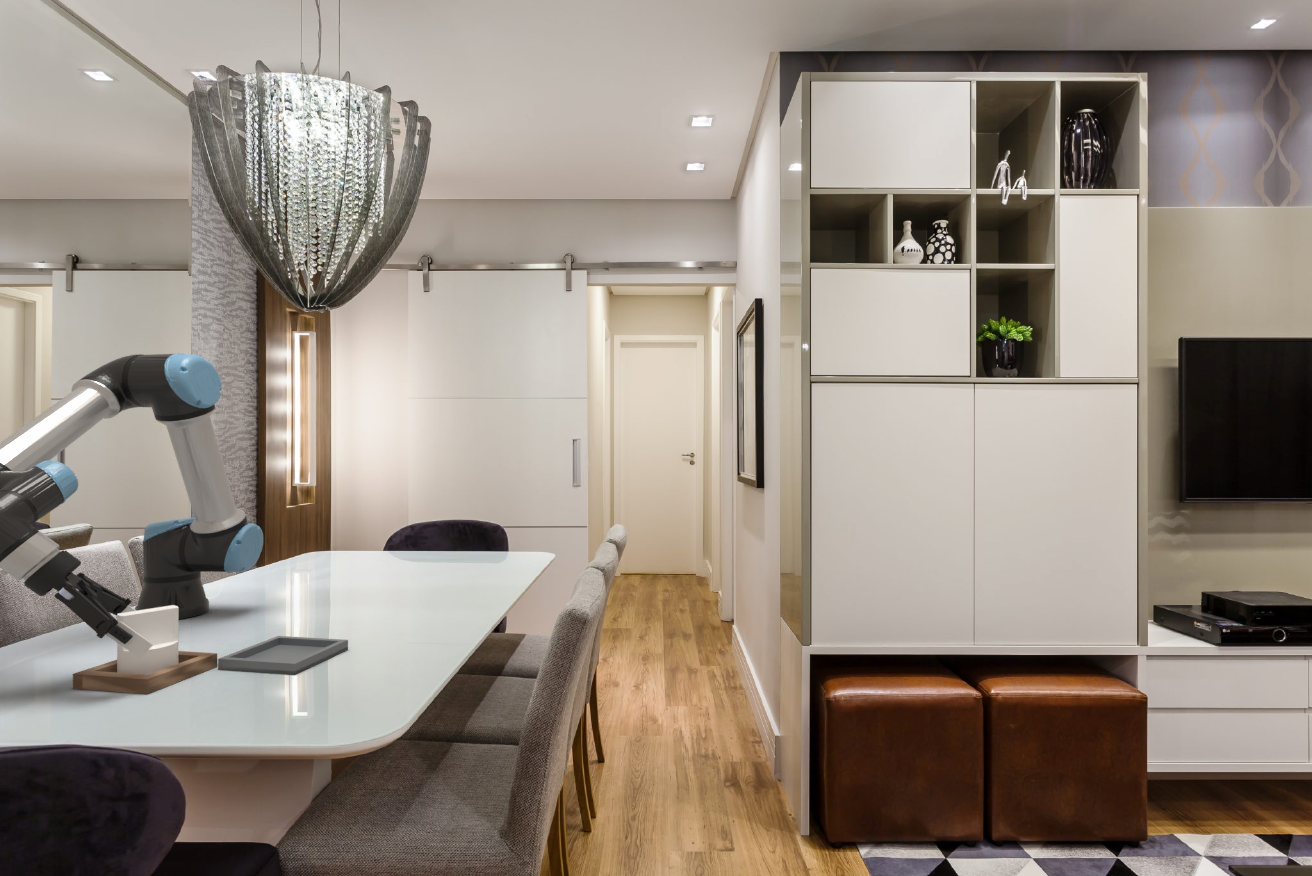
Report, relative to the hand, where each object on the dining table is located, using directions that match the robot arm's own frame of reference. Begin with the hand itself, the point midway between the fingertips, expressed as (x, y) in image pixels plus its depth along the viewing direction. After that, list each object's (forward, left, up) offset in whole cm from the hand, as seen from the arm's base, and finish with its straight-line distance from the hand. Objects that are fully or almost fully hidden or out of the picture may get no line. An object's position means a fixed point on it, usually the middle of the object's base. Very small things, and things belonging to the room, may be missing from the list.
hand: (150, 641), depth 130 cm
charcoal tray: (-14, +17, -6) cm, 23 cm away
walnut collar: (0, 0, -6) cm, 6 cm away
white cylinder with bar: (0, 0, -7) cm, 7 cm away
